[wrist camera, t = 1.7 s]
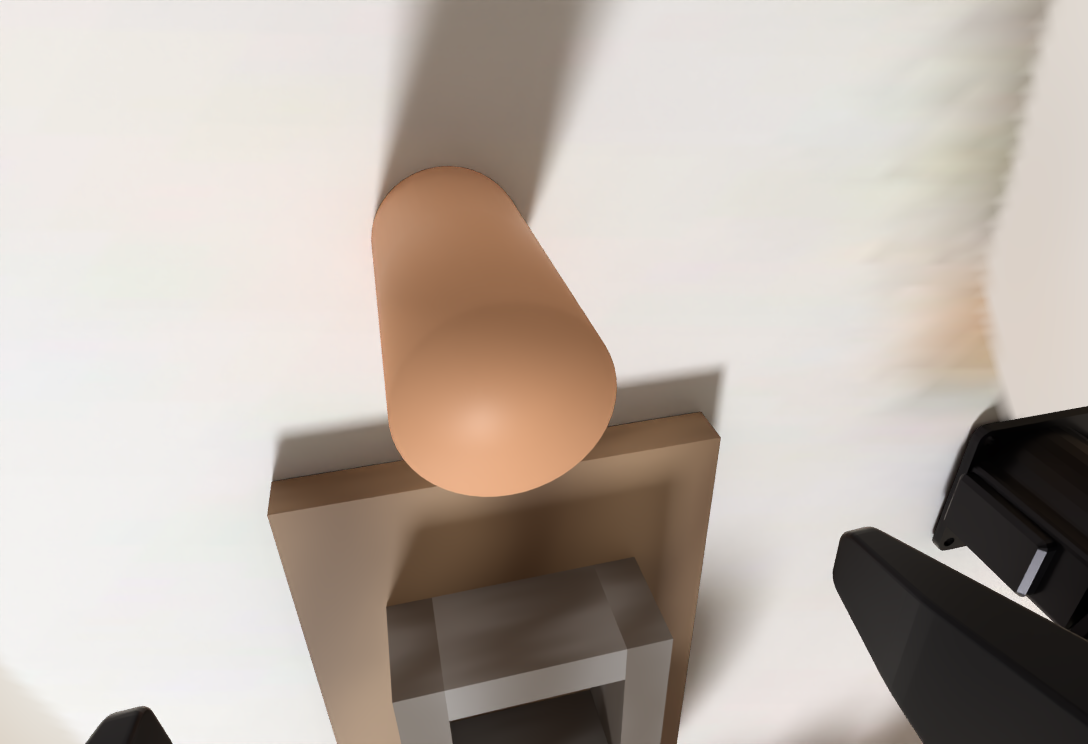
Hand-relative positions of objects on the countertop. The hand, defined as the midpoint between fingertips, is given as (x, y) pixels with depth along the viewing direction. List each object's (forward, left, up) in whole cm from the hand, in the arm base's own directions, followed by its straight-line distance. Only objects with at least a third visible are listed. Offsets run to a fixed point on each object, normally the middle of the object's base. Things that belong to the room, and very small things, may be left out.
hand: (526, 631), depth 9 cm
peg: (-1, -1, -12) cm, 12 cm away
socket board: (-2, +15, -12) cm, 20 cm away
